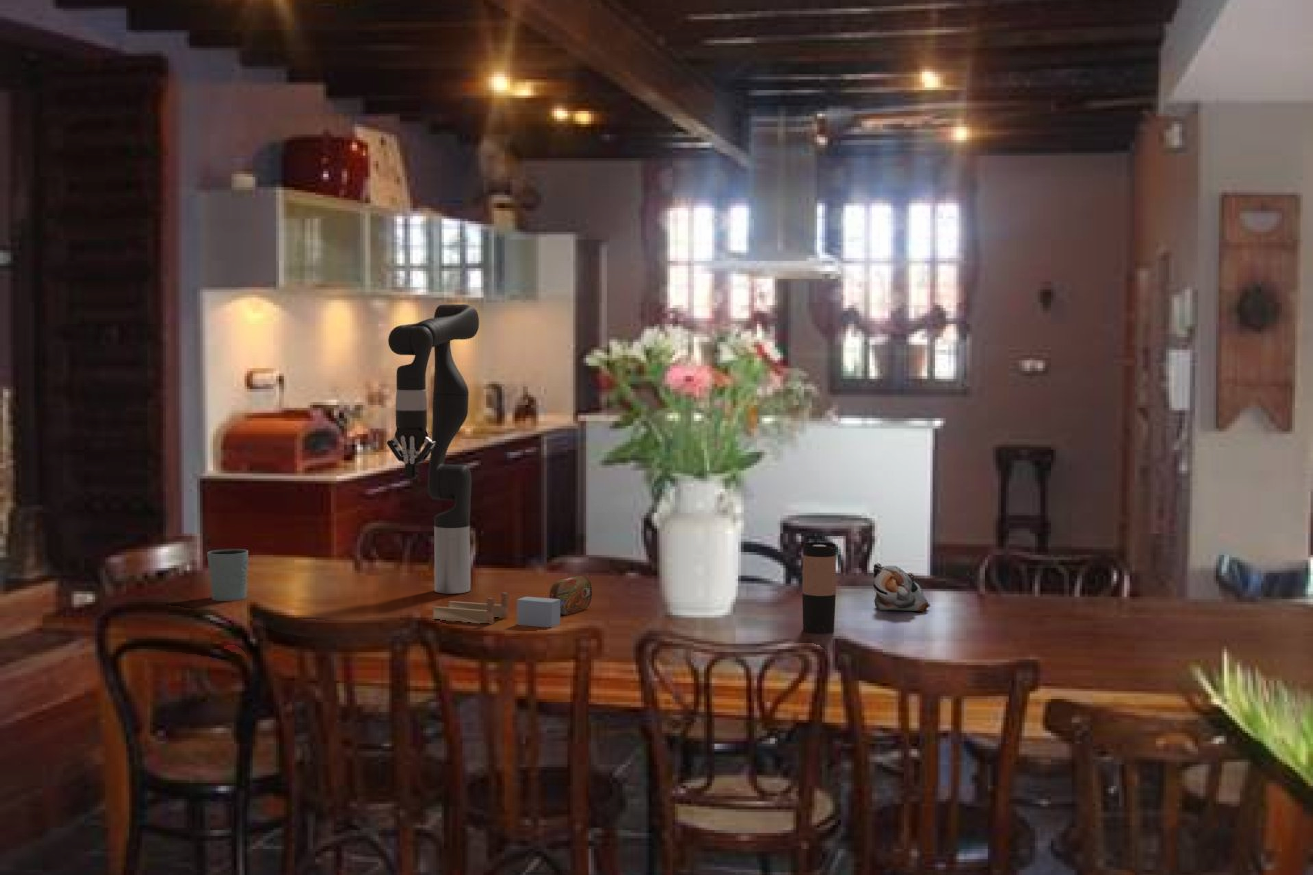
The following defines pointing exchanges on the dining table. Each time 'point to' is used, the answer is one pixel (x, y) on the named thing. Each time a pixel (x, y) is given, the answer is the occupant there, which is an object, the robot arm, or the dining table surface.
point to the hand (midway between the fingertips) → (411, 478)
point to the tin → (572, 594)
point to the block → (538, 612)
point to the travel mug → (819, 587)
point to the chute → (473, 611)
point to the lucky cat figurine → (897, 590)
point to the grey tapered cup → (228, 574)
